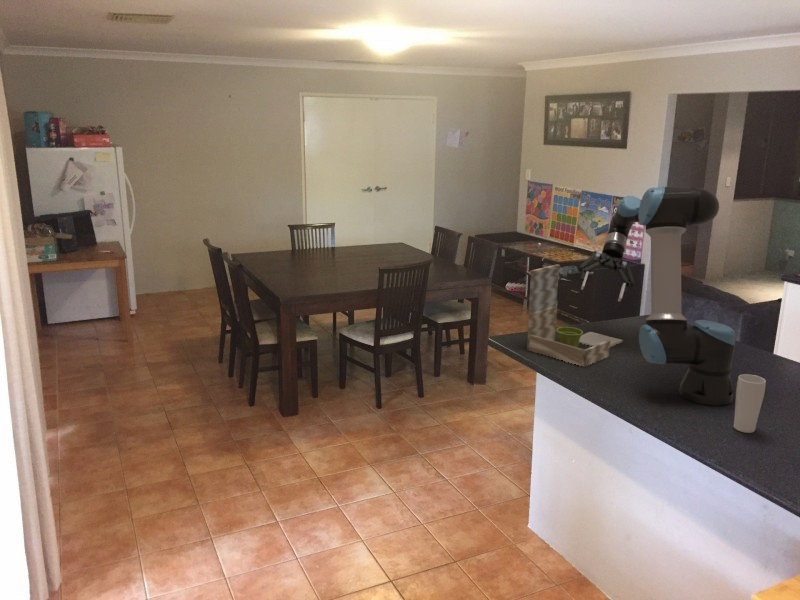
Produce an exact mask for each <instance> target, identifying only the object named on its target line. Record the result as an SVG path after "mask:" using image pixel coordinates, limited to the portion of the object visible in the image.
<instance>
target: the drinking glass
mask: <svg viewBox="0 0 800 600" xmlns="http://www.w3.org/2000/svg"><path fill="white" fill-rule="evenodd" d="M766 384H767V381H766V379H765V378H763V377H761V376H759V375H754V374H749V373H747V374H746V373H744V374H743V373H742V374H740V375H738V377H737V382H736V386H735V387H736V388H735V401H734V402H735V404H734V421H733V428H734V429H735V430H736V431H739V432H741V433H744V434H745V433H746V434H752V433H754V432H755V431H756V427H757V424H758V423H757V422H758V419H759V416H760V412H761V408H762V404H763V400H764V397H765V392H766V386H767V385H766Z"/></svg>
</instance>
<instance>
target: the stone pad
mask: <svg viewBox="0 0 800 600" xmlns="http://www.w3.org/2000/svg"><path fill="white" fill-rule="evenodd" d="M607 340H609V341H610V348H611V347H614V346H617V345H619V344H622V343H623V341H624V340H623V339H621V338H617V337H612V336H609V335H605V334H601V333H597V332H593V331H589V332H585V333H583V334H582V335H581V337H580V340H579V344H580V343H582V344H581V345H584V344H585V345H584V346H587V345H589V347H591V346H595V345H597V344H600V343H602V342H605V341H607ZM616 344H617V345H616Z"/></svg>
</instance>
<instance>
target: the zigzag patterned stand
mask: <svg viewBox="0 0 800 600" xmlns="http://www.w3.org/2000/svg"><path fill="white" fill-rule="evenodd" d="M560 267H561V265H560V264H553V265H549V266H545V267H541V268H536V269H535V268H534V269H532V270H530V284H529V300H528V302H529V303H528V325H527V340H526V341H527V342H526V343H527V344H526V351H529V352H531V351H532V353H535V354H538V353H539V354H538V355H541V354H543V355H542V356H545V355H546V356H545V357H548V356H550V357H549V358H551V357H553V358H552V359H554V358H556V359H555V360H558V359H559V361H561V360H563V361H562V362H564V361H565V362H564V363H568V362H569V363H568V364H571V363H572V364H571V365H574V364H576V365H575V366H577V365H579V366H578V367H581V366H582V367H581V368H586V367H589V366H590V364H591V365H593V364H596V363H597V361H598V362H599V361H602V360H604V358H605V359H607V358H609V357H610V350H611V347H610V341H609V340H607V341H605V342H602V343H600V344H597V345H595V346H592V347H591V346H589V347H588V348H586V349H583V348H581V347H578V348H577V347H573V346H570V345H566V344H563V343H559V342H558V341H556V332H557V331H556V329H557V315H558V306H557V301H558V300H557V299H558V288H559V275H560V274H559V273H560V272H559V271H560ZM592 363H593V364H592ZM588 365H589V366H588ZM585 366H586V367H585Z"/></svg>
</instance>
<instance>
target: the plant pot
mask: <svg viewBox="0 0 800 600" xmlns="http://www.w3.org/2000/svg"><path fill="white" fill-rule="evenodd" d="M555 332H557V333H556V334H557V338H558V340H557V342H559V343H563V344H566V345H570V346H573V347H577V348H579V344H580V343H579V340H580V337H581V335H583V334H584V332H583V329H580V328H577V327H572V326H558V327H556V331H555Z"/></svg>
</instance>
